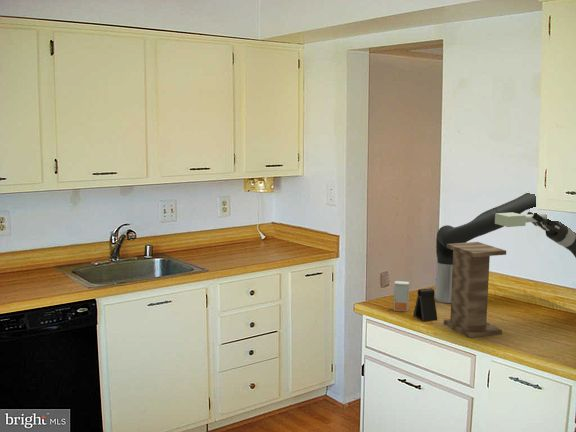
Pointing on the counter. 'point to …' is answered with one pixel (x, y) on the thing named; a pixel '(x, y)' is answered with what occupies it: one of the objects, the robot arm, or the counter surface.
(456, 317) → the walnut stand
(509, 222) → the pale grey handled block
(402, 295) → the skincare box
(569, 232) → the robot arm
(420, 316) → the phone stand
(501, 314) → the counter surface
